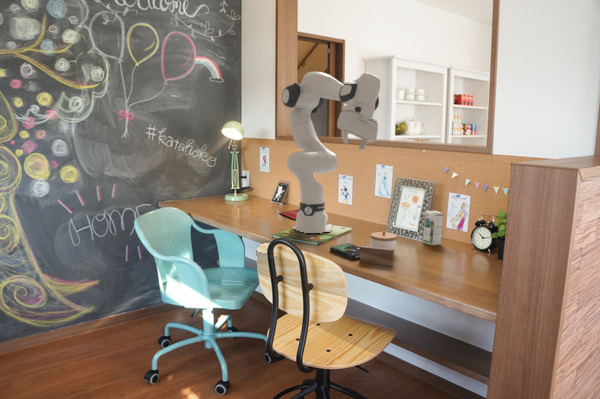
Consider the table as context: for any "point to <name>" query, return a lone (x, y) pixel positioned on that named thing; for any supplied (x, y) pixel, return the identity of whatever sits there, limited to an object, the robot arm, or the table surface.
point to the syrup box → (433, 227)
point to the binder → (290, 214)
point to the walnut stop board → (376, 255)
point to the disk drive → (347, 251)
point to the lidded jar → (383, 240)
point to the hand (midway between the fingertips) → (353, 146)
